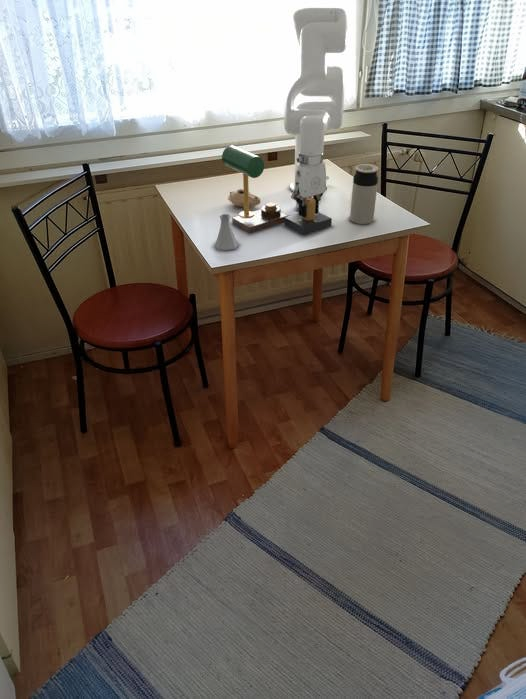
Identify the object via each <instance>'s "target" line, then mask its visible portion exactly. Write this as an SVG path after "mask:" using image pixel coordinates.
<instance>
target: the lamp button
mask: <svg viewBox="0 0 526 699" xmlns="http://www.w3.org/2000/svg"><path fill="white" fill-rule="evenodd" d="M276 205H277V203H276V202H267V203H265V205H264V206H265V209H266V210H268V211H274V210H276Z"/></svg>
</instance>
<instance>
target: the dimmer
mask: <svg viewBox="0 0 526 699" xmlns="http://www.w3.org/2000/svg"><path fill="white" fill-rule="evenodd" d="M332 221H333V218H332V217H331V216H328V215H326V214H324V213H322V212H320V211H318V213H315V219H313V220H304V219H302V216H300V215H299V212H298V213H295V214H292V215H288V217H285V222H284V226H285V227H286V228H289V229H290V230H292V231H294V232H296V233H298V234H300V235H301V236H307V235H310V234H314V233H316V232H320V231H322V230H326V229H328V228H331V227H332V224H333V223H332Z"/></svg>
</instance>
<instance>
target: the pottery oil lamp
mask: <svg viewBox="0 0 526 699" xmlns="http://www.w3.org/2000/svg"><path fill="white" fill-rule="evenodd" d="M227 200H228V201H229V202H230V203H232V204H233V205H234V206H236V207H240V208H244V188H243V189H242V188H238V189H236V190H230V191H229V195H228V197H227ZM260 204H261V198H260V197H258V196H257V195H255V194H253V193H251V191H249V207H256V206H259V205H260Z"/></svg>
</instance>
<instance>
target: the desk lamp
mask: <svg viewBox="0 0 526 699" xmlns="http://www.w3.org/2000/svg"><path fill="white" fill-rule="evenodd" d="M221 160H222V163H223V164H224V165H225V166H227V167H229V168H230V169H232V170H234V171H236V172H239V173H241V174H242V180H243V182H242V183H243V185H242V186H243V190H244V207H243V211H240V212H238V216H240V217H241V218H252V217H254V213H253V211H251V210H250V206H249V192H250V191H249V188H250V187H249V177H250V178H252V179H257V178H259V177H260V176H261V175H262V174H263V172H264V170H265V162H264V161H265V160H264V159H263V158H262V157H260V156H258V155H256V154H254V153H251V152H249V151H246V150H244V149H242V148H239V147H238V146H235V145H228V146H226V147H225V148H224V150H223V151H222V155H221Z"/></svg>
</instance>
